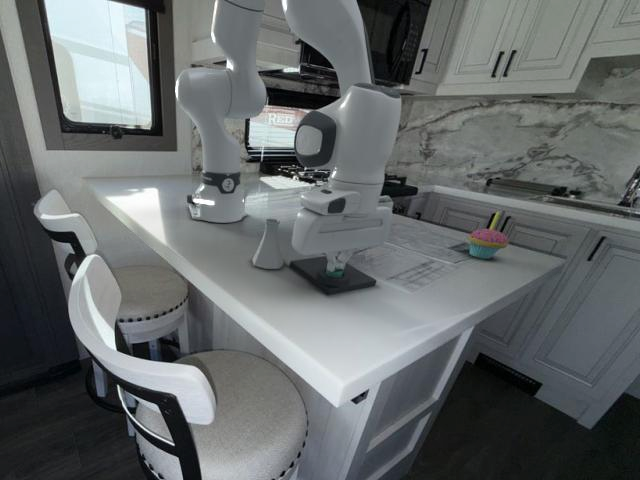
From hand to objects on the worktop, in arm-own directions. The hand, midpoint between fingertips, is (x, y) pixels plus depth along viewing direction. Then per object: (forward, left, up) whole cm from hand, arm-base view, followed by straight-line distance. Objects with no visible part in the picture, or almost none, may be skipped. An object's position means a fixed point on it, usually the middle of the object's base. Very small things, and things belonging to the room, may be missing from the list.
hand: (335, 269), depth 60 cm
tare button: (0, 0, -2) cm, 2 cm away
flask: (-14, -7, -4) cm, 16 cm away
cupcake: (-1, +51, -4) cm, 51 cm away
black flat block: (-4, +3, -4) cm, 6 cm away
